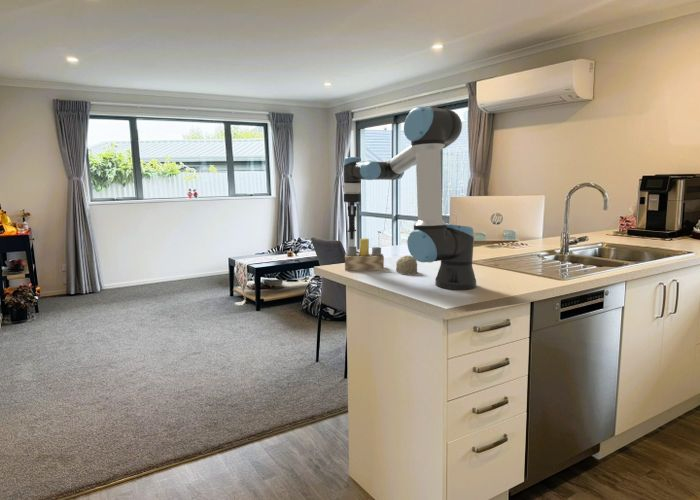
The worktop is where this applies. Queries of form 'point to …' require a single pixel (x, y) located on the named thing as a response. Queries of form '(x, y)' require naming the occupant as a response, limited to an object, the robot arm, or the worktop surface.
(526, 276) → the worktop surface
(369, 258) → the socket block
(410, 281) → the worktop surface
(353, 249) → the grey plug
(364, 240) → the mustard plug
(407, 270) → the sponge
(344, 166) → the robot arm
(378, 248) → the grey plug
